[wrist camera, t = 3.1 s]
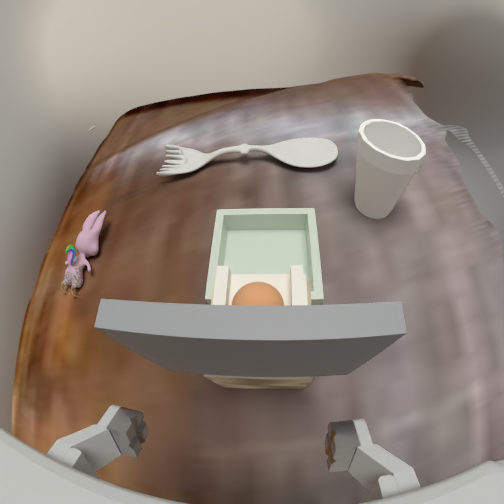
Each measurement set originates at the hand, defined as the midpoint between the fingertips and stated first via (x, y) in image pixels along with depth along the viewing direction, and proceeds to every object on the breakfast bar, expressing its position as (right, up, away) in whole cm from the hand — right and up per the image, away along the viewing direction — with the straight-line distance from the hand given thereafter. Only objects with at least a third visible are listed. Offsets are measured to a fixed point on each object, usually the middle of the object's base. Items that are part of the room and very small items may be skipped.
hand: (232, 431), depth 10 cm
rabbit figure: (-26, +7, +31) cm, 41 cm away
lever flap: (+2, +1, +14) cm, 14 cm away
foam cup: (+20, +15, +32) cm, 41 cm away
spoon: (0, +24, +40) cm, 46 cm away
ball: (+1, +3, +11) cm, 12 cm away
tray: (+3, +6, +27) cm, 28 cm away
